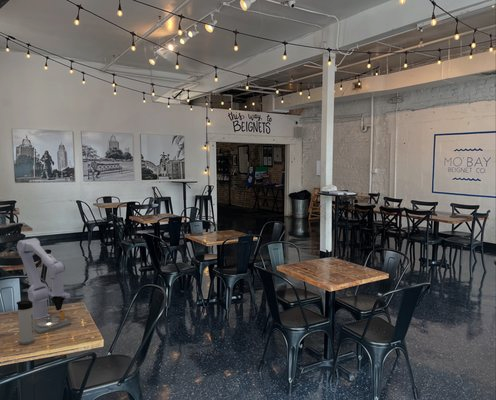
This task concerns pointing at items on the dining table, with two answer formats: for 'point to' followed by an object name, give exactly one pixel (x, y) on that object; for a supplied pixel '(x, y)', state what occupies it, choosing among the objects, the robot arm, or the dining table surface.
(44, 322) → the lidded saucepan
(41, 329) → the base plate
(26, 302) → the travel mug
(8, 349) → the dining table surface
